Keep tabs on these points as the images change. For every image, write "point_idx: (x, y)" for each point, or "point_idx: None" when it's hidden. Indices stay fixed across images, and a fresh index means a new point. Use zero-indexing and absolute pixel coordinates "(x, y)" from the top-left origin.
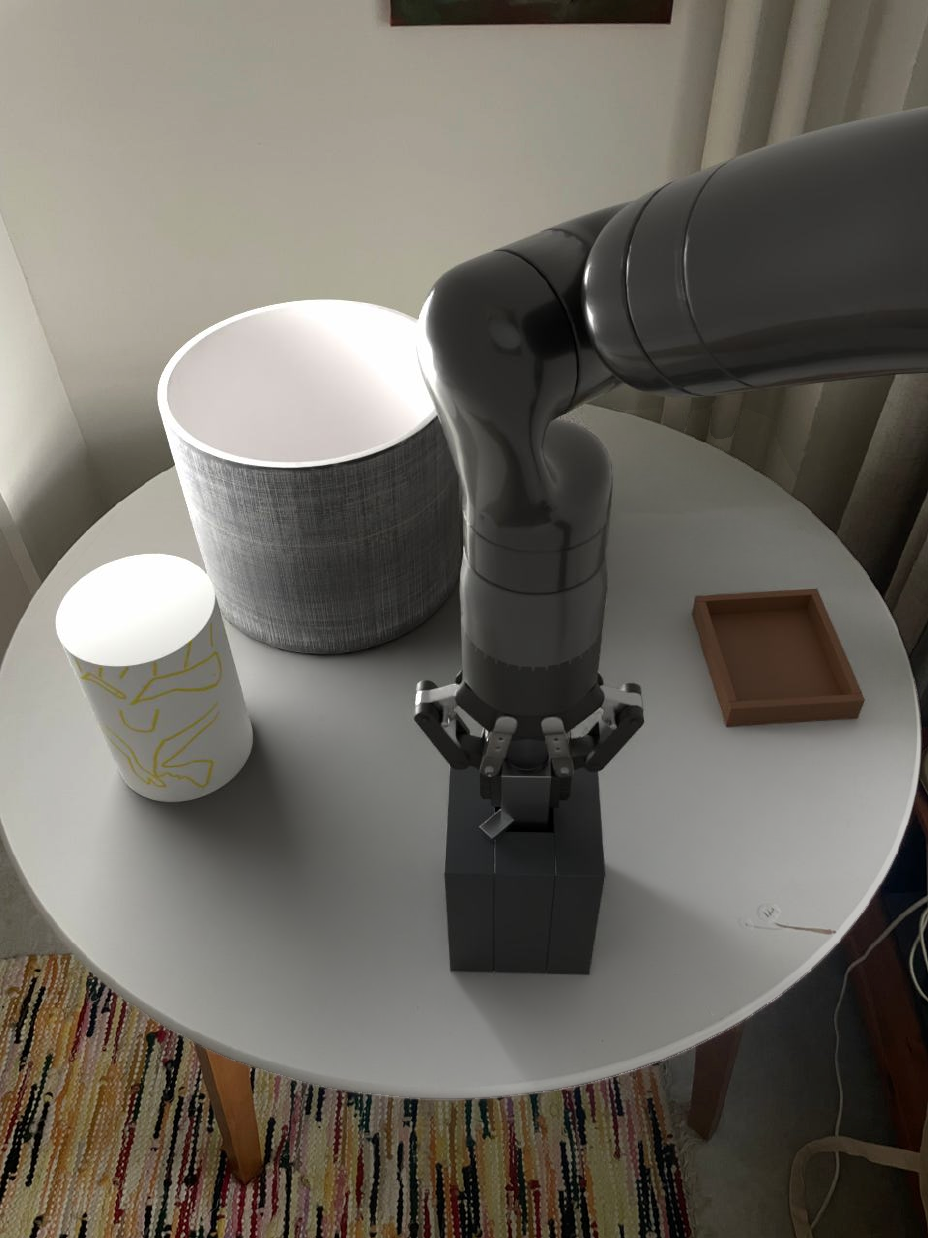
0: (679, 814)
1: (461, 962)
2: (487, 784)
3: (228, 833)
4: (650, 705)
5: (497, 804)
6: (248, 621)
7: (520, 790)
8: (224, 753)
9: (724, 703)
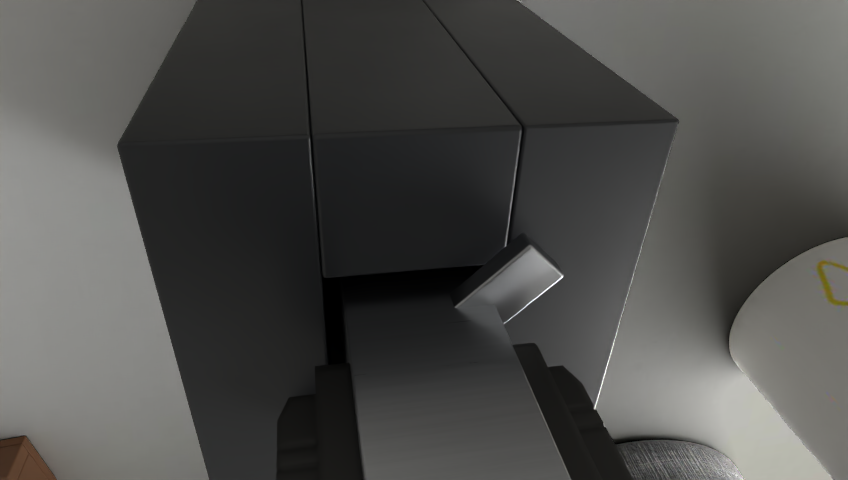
0: (79, 295)
1: None
2: (582, 435)
3: (792, 199)
4: (160, 446)
5: (521, 356)
6: (725, 473)
7: (481, 449)
8: (811, 315)
9: (27, 476)
